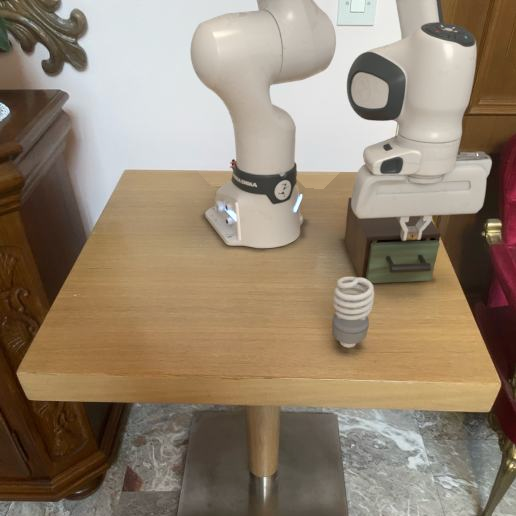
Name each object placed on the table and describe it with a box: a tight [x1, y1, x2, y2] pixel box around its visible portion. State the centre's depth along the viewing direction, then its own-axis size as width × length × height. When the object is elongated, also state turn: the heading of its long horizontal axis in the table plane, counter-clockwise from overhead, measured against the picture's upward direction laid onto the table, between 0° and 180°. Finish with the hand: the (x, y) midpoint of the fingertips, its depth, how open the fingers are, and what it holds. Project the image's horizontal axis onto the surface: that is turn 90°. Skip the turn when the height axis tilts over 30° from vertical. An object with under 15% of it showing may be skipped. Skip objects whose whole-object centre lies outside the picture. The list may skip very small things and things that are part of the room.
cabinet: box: [343, 197, 442, 279], centre depth 97 cm, size 16×13×9 cm
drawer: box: [366, 238, 441, 284], centre depth 93 cm, size 19×11×7 cm, turn 4°
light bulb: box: [331, 275, 375, 349], centre depth 76 cm, size 6×6×12 cm
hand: (410, 238), depth 86 cm, fingers closed
